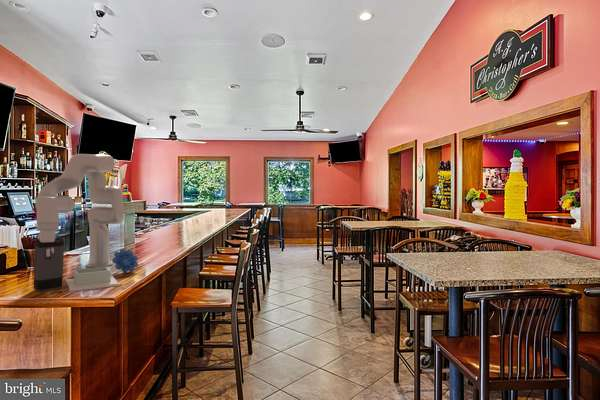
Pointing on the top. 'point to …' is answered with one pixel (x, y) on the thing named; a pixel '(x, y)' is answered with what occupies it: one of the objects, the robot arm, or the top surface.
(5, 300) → the top surface
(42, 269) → the electronic device
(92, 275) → the dock
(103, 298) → the top surface
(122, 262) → the grapes
